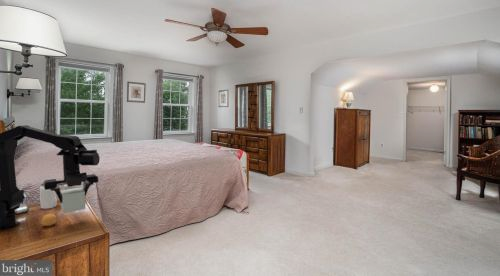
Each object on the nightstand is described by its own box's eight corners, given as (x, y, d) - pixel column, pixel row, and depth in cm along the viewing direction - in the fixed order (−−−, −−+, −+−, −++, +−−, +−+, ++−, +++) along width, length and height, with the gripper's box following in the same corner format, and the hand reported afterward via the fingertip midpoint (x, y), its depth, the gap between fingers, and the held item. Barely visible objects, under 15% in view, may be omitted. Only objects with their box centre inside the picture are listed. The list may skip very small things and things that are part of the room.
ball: (38, 226, 106) (38, 215, 106) (51, 222, 111) (50, 211, 110) (47, 228, 105) (46, 217, 104) (59, 223, 109) (59, 212, 109)
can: (47, 209, 124) (46, 186, 123) (37, 208, 125) (36, 185, 124) (60, 205, 130) (59, 182, 129) (49, 203, 131) (48, 181, 130)
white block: (61, 207, 109) (60, 190, 108) (82, 203, 114) (81, 187, 113) (63, 213, 103) (62, 195, 102) (85, 209, 108) (84, 191, 108)
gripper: (44, 172, 95) (46, 211, 96) (100, 166, 107) (101, 201, 109) (42, 166, 103) (44, 203, 104) (94, 161, 115) (95, 194, 117)
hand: (72, 200), depth 108 cm, fingers closed on white block, 8 cm apart
